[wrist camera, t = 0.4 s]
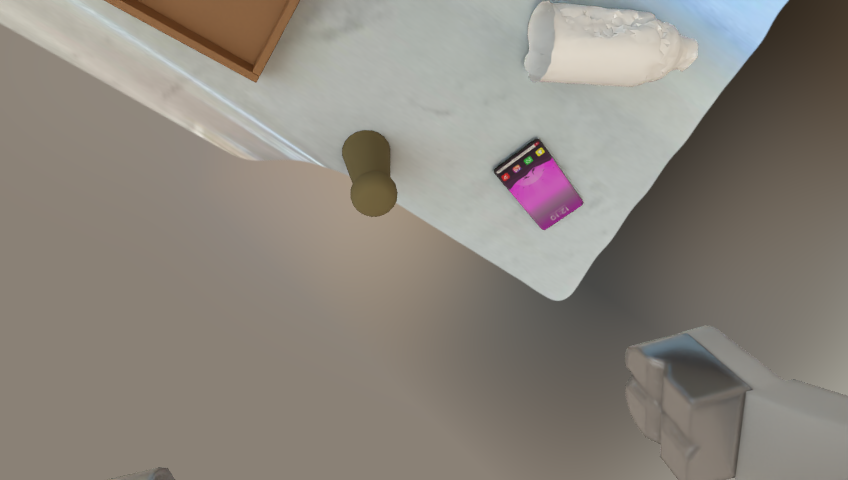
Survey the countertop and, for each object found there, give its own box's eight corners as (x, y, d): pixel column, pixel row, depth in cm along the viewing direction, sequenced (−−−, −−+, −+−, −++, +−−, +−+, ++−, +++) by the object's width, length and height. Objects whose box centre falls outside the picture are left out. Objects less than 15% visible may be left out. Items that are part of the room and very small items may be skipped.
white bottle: (653, 74, 62) (690, 102, 56) (514, 65, 57) (539, 93, 52) (683, 7, 57) (727, 29, 51) (533, -9, 52) (562, 14, 47)
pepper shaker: (333, 160, 61) (337, 213, 53) (357, 121, 58) (365, 171, 50) (374, 179, 64) (385, 232, 56) (399, 143, 61) (413, 193, 53)
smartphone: (536, 135, 64) (538, 138, 63) (582, 201, 73) (585, 204, 72) (491, 168, 66) (493, 172, 66) (541, 228, 75) (543, 232, 74)
